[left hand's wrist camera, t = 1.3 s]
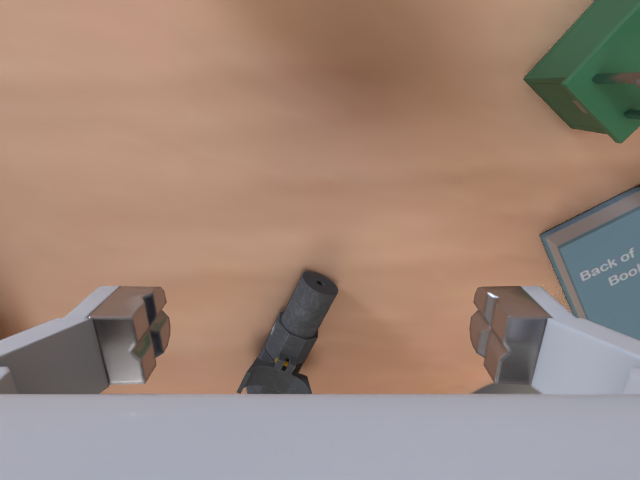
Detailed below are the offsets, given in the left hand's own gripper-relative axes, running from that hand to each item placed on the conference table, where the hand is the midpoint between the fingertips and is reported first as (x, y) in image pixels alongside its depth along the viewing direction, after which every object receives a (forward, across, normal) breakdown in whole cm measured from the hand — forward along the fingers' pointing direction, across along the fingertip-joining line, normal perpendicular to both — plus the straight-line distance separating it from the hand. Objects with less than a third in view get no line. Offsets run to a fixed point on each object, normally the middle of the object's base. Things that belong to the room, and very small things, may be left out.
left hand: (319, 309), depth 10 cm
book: (+43, -44, +20) cm, 65 cm away
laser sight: (+43, +5, +30) cm, 53 cm away
